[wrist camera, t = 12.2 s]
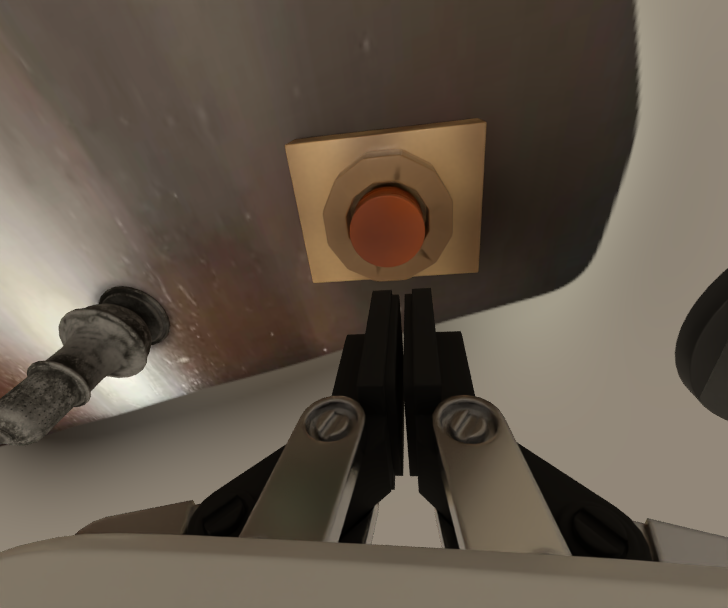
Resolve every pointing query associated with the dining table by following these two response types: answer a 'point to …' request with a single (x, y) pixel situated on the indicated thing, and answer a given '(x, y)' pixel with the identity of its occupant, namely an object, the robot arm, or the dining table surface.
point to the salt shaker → (83, 362)
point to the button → (387, 227)
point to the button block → (398, 169)
